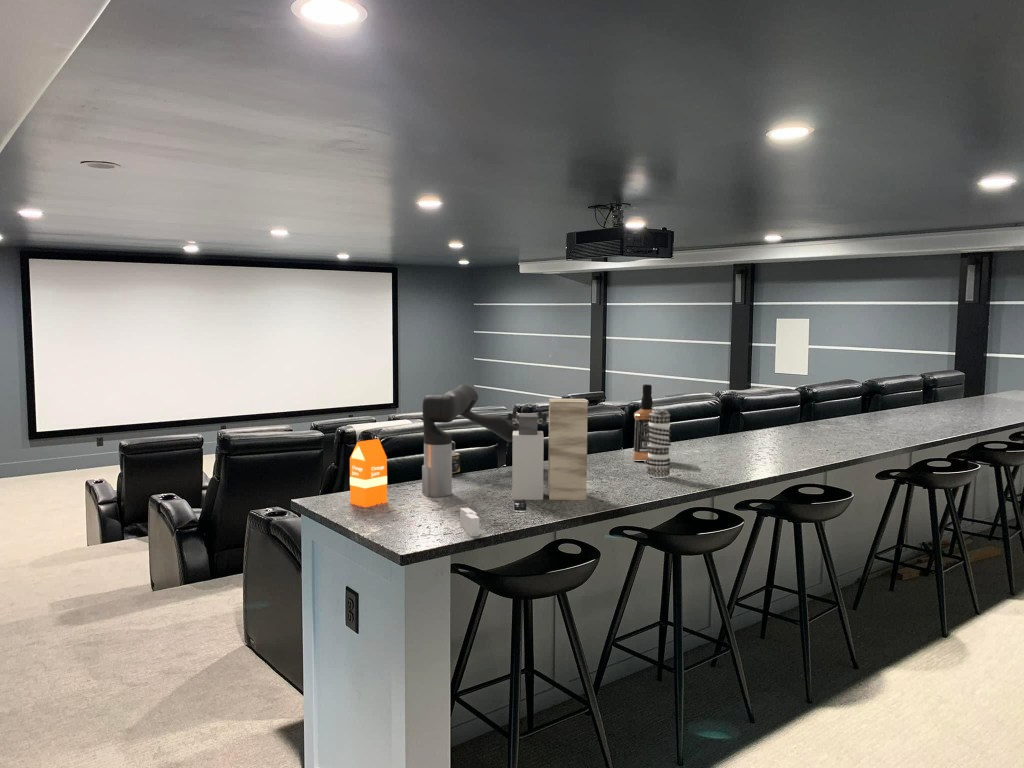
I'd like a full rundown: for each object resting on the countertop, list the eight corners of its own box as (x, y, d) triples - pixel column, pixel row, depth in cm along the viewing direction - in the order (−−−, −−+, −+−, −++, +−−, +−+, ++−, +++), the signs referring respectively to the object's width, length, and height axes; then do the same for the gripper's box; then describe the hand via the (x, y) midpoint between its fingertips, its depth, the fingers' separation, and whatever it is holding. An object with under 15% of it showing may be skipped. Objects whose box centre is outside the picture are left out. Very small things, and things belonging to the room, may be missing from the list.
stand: (548, 492, 247) (548, 398, 244) (583, 493, 247) (584, 398, 244) (549, 499, 237) (550, 401, 234) (586, 500, 237) (587, 401, 234)
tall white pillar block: (512, 492, 247) (512, 430, 245) (542, 492, 247) (542, 431, 245) (512, 499, 237) (512, 435, 235) (543, 499, 237) (543, 435, 235)
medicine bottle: (447, 474, 277) (447, 443, 276) (433, 472, 281) (433, 441, 280) (460, 471, 282) (460, 440, 281) (446, 469, 287) (446, 439, 286)
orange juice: (349, 503, 231) (349, 440, 230) (371, 498, 238) (371, 437, 236) (365, 507, 226) (364, 443, 224) (387, 502, 233) (387, 440, 231)
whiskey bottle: (656, 458, 312) (658, 383, 310) (659, 462, 303) (660, 385, 300) (632, 457, 314) (633, 383, 311) (633, 462, 304) (635, 385, 301)
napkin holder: (457, 524, 209) (456, 504, 209) (495, 526, 207) (495, 506, 206) (439, 538, 195) (439, 517, 194) (480, 541, 192) (480, 520, 192)
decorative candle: (642, 474, 279) (643, 409, 277) (666, 473, 280) (667, 408, 278) (649, 479, 270) (650, 411, 268) (673, 478, 271) (675, 411, 269)
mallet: (519, 426, 256) (519, 409, 255) (536, 426, 255) (536, 409, 255) (518, 434, 237) (518, 416, 236) (537, 434, 237) (537, 416, 236)
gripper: (508, 419, 279) (507, 401, 264) (545, 419, 278) (547, 402, 264) (508, 437, 275) (507, 421, 261) (545, 437, 275) (547, 421, 260)
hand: (527, 411), depth 262 cm, fingers open, 8 cm apart
